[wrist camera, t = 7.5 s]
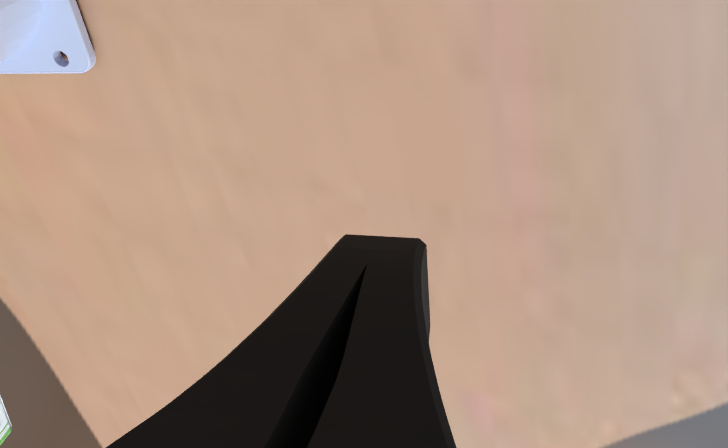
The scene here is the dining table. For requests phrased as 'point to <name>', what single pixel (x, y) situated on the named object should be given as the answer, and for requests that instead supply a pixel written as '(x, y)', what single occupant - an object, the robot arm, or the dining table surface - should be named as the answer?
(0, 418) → the syrup box
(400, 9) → the dining table surface
